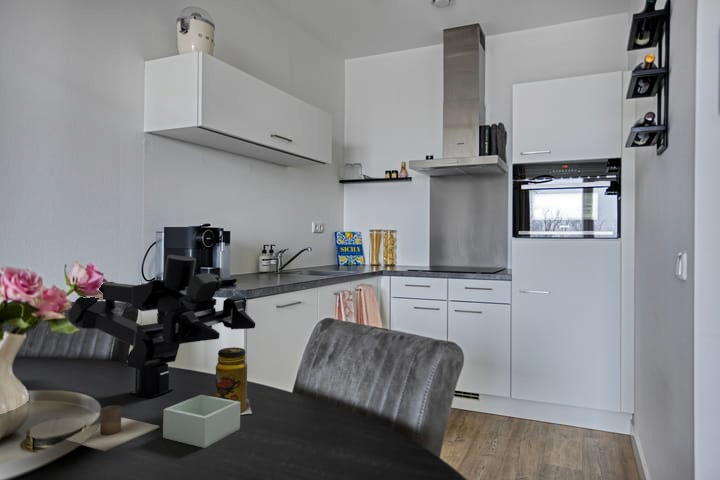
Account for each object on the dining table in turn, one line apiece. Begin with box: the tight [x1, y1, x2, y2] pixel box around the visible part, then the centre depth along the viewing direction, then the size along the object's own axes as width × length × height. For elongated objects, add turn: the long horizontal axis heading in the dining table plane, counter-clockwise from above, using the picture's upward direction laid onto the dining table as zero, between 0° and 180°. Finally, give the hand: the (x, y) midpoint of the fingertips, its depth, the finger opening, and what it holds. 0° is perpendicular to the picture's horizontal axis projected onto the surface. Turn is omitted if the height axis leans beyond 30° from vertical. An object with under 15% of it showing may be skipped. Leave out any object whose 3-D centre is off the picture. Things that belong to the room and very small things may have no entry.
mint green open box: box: [162, 394, 241, 449], centre depth 85 cm, size 9×9×5 cm
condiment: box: [214, 346, 253, 416], centre depth 98 cm, size 7×8×12 cm
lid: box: [80, 404, 160, 452], centre depth 85 cm, size 11×11×5 cm
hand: (237, 330), depth 93 cm, fingers open, 9 cm apart
